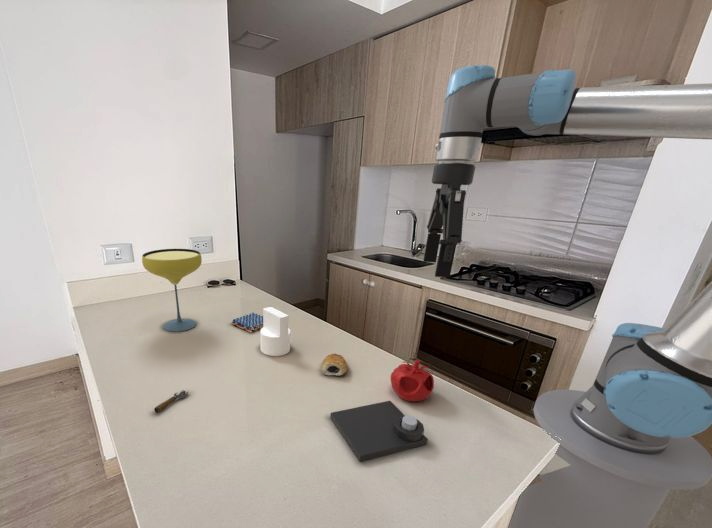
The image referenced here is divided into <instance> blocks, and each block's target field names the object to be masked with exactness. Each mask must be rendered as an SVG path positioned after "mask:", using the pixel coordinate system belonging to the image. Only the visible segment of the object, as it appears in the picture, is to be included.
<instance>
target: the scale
mask: <svg viewBox="0 0 712 528" xmlns="http://www.w3.org/2000/svg"><path fill="white" fill-rule="evenodd" d="M404 416H406V415H405V414H404V413H403V412H402V411H401V410H400V409H399V408H398V407H397V406H396V405H395V404H394V403H393V402H392V401H391V400H387V401H386V400H385V401H382V402H377V403H376V402H375V403H372V404H367V405H362V406H357V407H354V408H353V407H351V408H348V409H342V410H338V411H332V412H330V416H329V418H330V420H331V422H332V424H334V426H335V427H336V429H337V430H338V432H339V434H340V435H341V436H342V438H343V440H344V441H345V442H346V444H347V446H348V447H349V449H350V450H351V452H352V453H353V454H354V456H355V457H356V459H357V460H358V462H359V463H361V462H364V461H365V462H366V461H369V460H371V459H377V458H380V457H383V456H387V455H391V454H396V453H398V452H403V451H406V450H411V449H414V448H418V447H422V446H425V445H427V444H428V440H429V439H428V437H427V436H426V435H425V434H424V433H425V426H424V424H423V423H422V422H421V421H420V420H419V419H417V418H415V419H416V420H417V426H416V429H415V430H414V431H409V430H406V429H404V428H403V427H402V425H401V424H402V419H403V417H404Z"/></svg>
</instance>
